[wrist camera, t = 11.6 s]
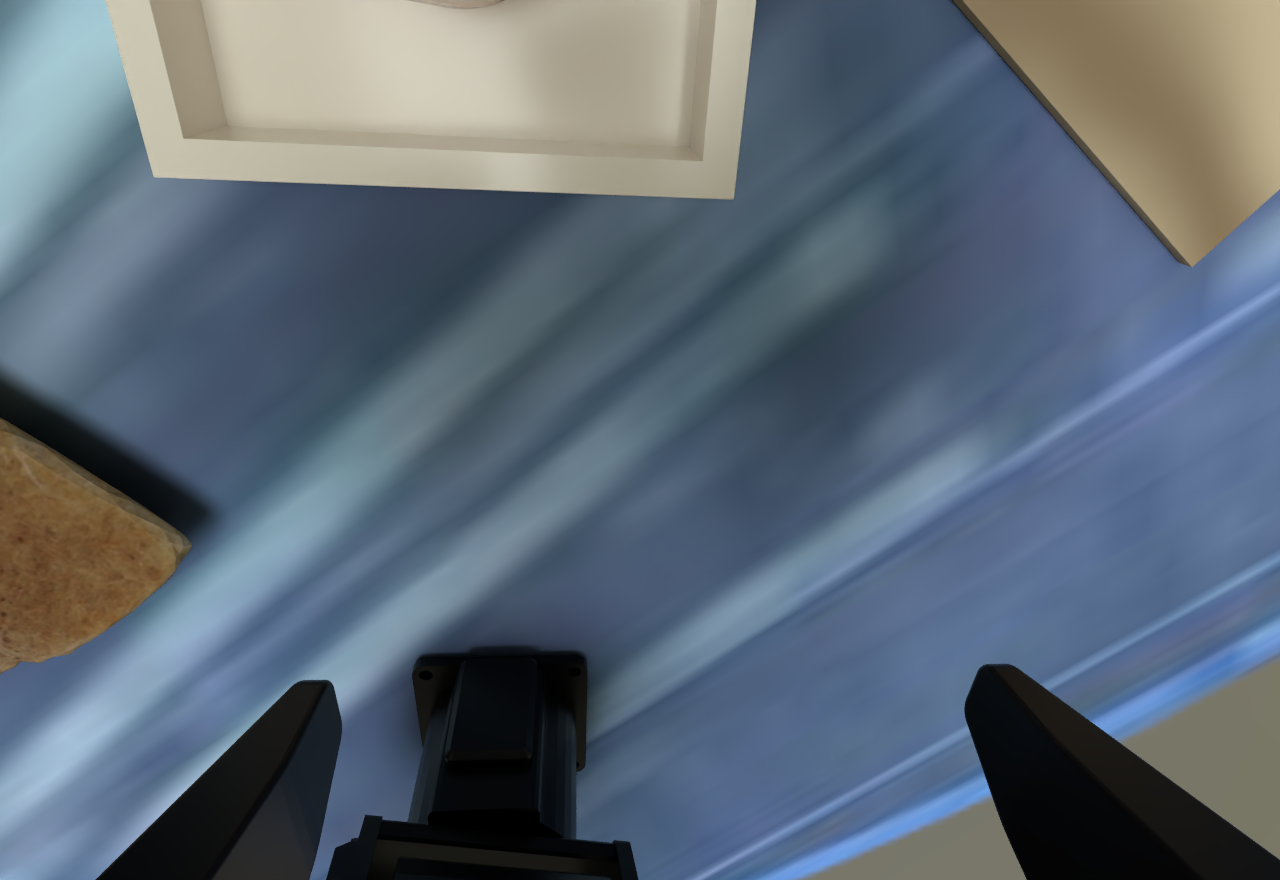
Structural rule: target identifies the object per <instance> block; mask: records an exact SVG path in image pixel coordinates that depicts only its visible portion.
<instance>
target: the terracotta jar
mask: <svg viewBox="0 0 1280 880" xmlns="http://www.w3.org/2000/svg"><path fill="white" fill-rule="evenodd" d="M408 1H413V2H419V3H424V4H429V5H435V6H440V7H446V8H452V9H474V8H481V7H487V6H490V5H493V4H497V3H500V2H502V1H504V0H408Z"/></svg>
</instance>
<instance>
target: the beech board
mask: <svg viewBox="0 0 1280 880" xmlns="http://www.w3.org/2000/svg"><path fill="white" fill-rule="evenodd" d="M953 2H954V3H955V4H956V5H957V6H958V7H959V8H960V10H961V11H962V12H963V13H964V14H965V15H966V17H967V18H968V19H969V20H970V21H971V22H972V23H973V25H974V26H975V27H976V28H977V29H978V30H979V32H980V33H981V34H982V35H983V36H984V37H985V39H986V40H987V41H988V42H989V43H990V44H991V45H992V47H993V48H994V49H995V50H996V51H997V52H998V54H999V55H1000V56H1001V57H1002V58H1003V59H1004V60H1005V62H1006V63H1007V64H1008V65H1009V66H1010V67H1011V69H1012V70H1013V71H1014V72H1015V73H1016V74H1017V75H1018V77H1019V78H1020V79H1021V80H1022V81H1023V82H1024V84H1025V85H1026V86H1027V87H1028V88H1029V89H1030V90H1031V92H1032V93H1033V94H1034V95H1035V96H1036V97H1037V99H1038V100H1039V101H1040V102H1041V103H1042V104H1043V105H1044V107H1045V108H1046V109H1047V110H1048V111H1049V112H1050V114H1051V115H1052V116H1053V117H1054V118H1055V119H1056V120H1057V122H1058V123H1059V124H1060V125H1061V126H1062V127H1063V129H1064V130H1065V131H1066V132H1067V133H1068V134H1069V135H1070V137H1071V138H1072V139H1073V140H1074V141H1075V142H1076V144H1077V145H1078V146H1079V147H1080V148H1081V149H1082V151H1083V152H1084V153H1085V154H1086V155H1087V156H1088V157H1089V159H1090V160H1091V161H1092V162H1093V163H1094V164H1095V166H1096V167H1097V168H1098V169H1099V170H1100V171H1101V172H1102V174H1103V175H1104V176H1105V177H1106V178H1107V179H1108V181H1109V182H1110V183H1111V184H1112V185H1113V186H1114V187H1115V189H1116V190H1117V191H1118V192H1119V193H1120V194H1121V196H1122V197H1123V198H1124V199H1125V200H1126V201H1127V202H1128V204H1129V205H1130V206H1131V207H1132V208H1133V209H1134V211H1135V212H1136V213H1137V214H1138V215H1139V216H1140V217H1141V219H1142V220H1143V221H1144V222H1145V223H1146V224H1147V226H1148V227H1149V228H1150V229H1151V230H1152V231H1153V232H1154V234H1155V235H1156V236H1157V237H1158V238H1159V239H1160V241H1161V242H1162V243H1163V244H1164V245H1165V246H1166V248H1167V249H1168V250H1169V251H1170V252H1171V253H1172V254H1173V256H1174V257H1175V258H1176V259H1177V260H1178V261H1179V263H1182V264H1185V265H1187V266H1190V267H1193V266H1194V265H1195V264H1196V263H1197V262H1199V261H1200V260H1201V259H1202V258H1203V257H1204V256H1205V255H1206V254H1208V253H1209V252H1210V251H1211V250H1212V249H1213V248H1214V247H1215V246H1216V245H1218V244H1219V243H1220V242H1221V241H1222V240H1223V239H1224V238H1225V237H1227V236H1228V235H1229V234H1230V233H1231V232H1232V231H1233V230H1234V229H1236V228H1237V227H1238V226H1239V225H1240V224H1241V223H1242V222H1243V221H1244V220H1246V219H1247V218H1248V217H1249V216H1250V215H1251V214H1252V213H1253V212H1255V211H1256V210H1257V209H1258V208H1259V207H1260V206H1261V205H1262V204H1264V203H1265V202H1266V201H1267V200H1268V199H1269V198H1270V197H1271V196H1273V195H1274V194H1275V193H1276V192H1277V191H1278V190H1279V189H1280V0H953Z"/></svg>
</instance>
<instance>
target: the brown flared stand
mask: <svg viewBox="0 0 1280 880" xmlns="http://www.w3.org/2000/svg"><path fill="white" fill-rule="evenodd" d="M191 547H192V544H191V542H190V540H189V539H188V538H187V537H185V536H184V535H183V534H182V533H181V532H179V531H178V530H177V529H175V528H174V527H173V526H171V525H170V524H168V523H167V522H165V521H164V520H163V519H161V518H160V517H158V516H157V515H155V514H154V513H152V512H151V511H149V510H148V509H147V508H145V507H144V506H142V505H140V504H139V503H137V502H136V501H134V500H133V499H131V498H130V497H128V496H127V495H125V494H124V493H122V492H121V491H119V490H117V489H116V488H114V487H112V486H111V485H109V484H107V483H106V482H104V481H102V480H101V479H99V478H98V477H96V476H95V475H93V474H92V473H90V472H89V471H87V470H86V469H84V468H83V467H81V466H79V465H78V464H76V463H75V462H73V461H72V460H70V459H68V458H67V457H65V456H63V455H62V454H60V453H59V452H57V451H55V450H54V449H52V448H50V447H49V446H47V445H46V444H44V443H42V442H41V441H39V440H37V439H36V438H34V437H32V436H31V435H29V434H27V433H26V432H24V431H23V430H21V429H19V428H18V427H16V426H14V425H13V424H11V423H9V422H7V421H6V420H4V419H2V418H0V674H1V673H2V672H4V671H7V670H9V669H11V668H13V667H15V666H16V665H17V664H19V663H20V662H21V661H24V662H36V663H41V662H43V661H45V660H47V659H49V658H52V657H55V656H61V655H67V654H70V653H72V652H73V651H74V650H76V649H77V648H79V647H80V646H82V645H83V644H85V643H87V642H89V641H91V640H93V639H94V638H95V637H97V636H98V635H100V634H101V633H103V632H104V631H106V630H107V629H109V628H110V627H111V626H113V625H114V624H116V623H117V622H118V621H120V620H121V619H123V618H124V617H125V616H127V615H128V614H130V613H131V612H133V611H134V610H135V609H136V608H137V607H138V606H139V605H141V604H142V603H143V602H144V601H145V600H146V599H147V598H149V597H150V596H151V595H152V594H153V593H154V592H155V591H156V590H158V589H159V588H160V587H161V586H162V585H163V584H165V583H166V582H167V581H168V580H169V579H170V578H171V577H172V576H173V574H174V572H175V571H176V569H177V567H178V566H179V564H180V562H181V561H182V560H183V558H184V557H185V556H186V555H187V553H188V552H189V551H190V549H191Z"/></svg>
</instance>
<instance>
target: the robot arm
mask: <svg viewBox="0 0 1280 880" xmlns="http://www.w3.org/2000/svg"><path fill="white" fill-rule="evenodd" d="M572 667H576V668H575V669H573V668H572ZM425 671H429V672H425ZM412 679H413V685H414V692H415V699H416V705H417V712H418V718H419V725H420V732H421V738H422V745H423V751H422V756H421V761H420V766H419V770H418V775H417V780H416V784H415V789H414V794H413V799H412V803H411V808H410V813H409V817H408V822H400V821H390V820H382V816H372V815H365V818H364V821H363V825H362V828H361V831H360V835H359V838H354V839H351V842H348V843H346V844H344V845H341V846H339V847H337V848H335V851H334V855H333V858H332V861H331V865H330V868H329V872H328V875H327V878H326V880H638V876H637V871H636V867H635V862H634V858H633V853H632V849H631V844H630V842H627V841H617V840H614V841H613V843H607V842H597V841H587V840H577V839H576V772H578V771H581V770H582V769H583V768H584V767H585V758H586V713H587V661H586V659H585V658H584V657H582V656H580V655H529V656H482V657H435V658H421V659H419V660H418V661H417V662H416V663H415V664H414V668H413V672H412ZM964 709H965V718H966V722H967V724H968V727H969V730H970V733H971V736H972V739H973V742H974V745H975V748H976V751H977V754H978V757H979V760H980V762H981V765H982V768H983V771H984V774H985V777H986V780H987V783H988V786H989V789H990V792H991V795H992V798H993V800H994V803H995V806H996V809H997V812H998V814H999V817H1000V820H1001V822H1002V825H1003V827H1004V830H1005V832H1006V834H1007V837H1008V839H1009V841H1010V844H1011V846H1012V848H1013V850H1014V852H1015V855H1016V857H1017V859H1018V861H1019V864H1020V865H1021V868H1022V870H1023V872H1024V875H1025V877H1026V879H1027V880H1280V860H1279V859H1278V858H1277V857H1275V856H1274V855H1272V854H1271V853H1270V852H1268V851H1267V850H1266V849H1264V848H1263V847H1261V846H1260V845H1259V844H1257V843H1256V842H1255V841H1253V840H1252V839H1250V838H1249V837H1248V836H1246V835H1245V834H1243V833H1242V832H1241V831H1240V830H1238V829H1237V828H1235V827H1234V826H1233V825H1231V824H1230V823H1229V822H1227V821H1226V820H1225V819H1223V818H1222V817H1220V816H1219V815H1218V814H1216V813H1215V812H1214V811H1212V810H1211V809H1210V808H1208V807H1207V806H1205V805H1204V804H1203V803H1201V802H1200V801H1198V800H1197V799H1196V798H1194V797H1193V796H1192V795H1190V794H1189V793H1188V792H1186V791H1185V790H1183V789H1182V788H1181V787H1179V786H1178V785H1176V784H1175V783H1174V782H1173V781H1171V780H1170V779H1168V778H1167V777H1166V776H1164V775H1163V774H1161V773H1160V772H1159V771H1157V770H1156V769H1155V768H1153V767H1152V766H1150V765H1149V764H1148V763H1146V762H1145V761H1144V760H1142V759H1141V758H1140V757H1138V756H1137V755H1136V754H1134V753H1133V752H1131V751H1130V750H1129V749H1127V748H1126V747H1125V746H1123V745H1122V744H1121V743H1119V742H1118V741H1116V740H1115V739H1114V738H1112V737H1111V736H1110V735H1108V734H1107V733H1106V732H1104V731H1103V730H1101V729H1100V728H1099V727H1097V726H1096V725H1095V724H1093V723H1092V722H1090V721H1089V720H1088V719H1086V718H1085V717H1084V716H1082V715H1081V714H1080V713H1078V712H1077V711H1075V710H1074V709H1073V708H1071V707H1070V706H1069V705H1067V704H1066V703H1065V702H1063V701H1062V700H1060V699H1059V698H1058V697H1056V696H1055V695H1054V694H1052V693H1051V692H1049V691H1048V690H1047V689H1045V688H1044V687H1043V686H1041V685H1040V684H1039V683H1037V682H1036V681H1034V680H1033V679H1032V678H1030V677H1029V676H1028V675H1026V674H1025V673H1023V672H1022V671H1021V670H1019V669H1018V668H1016V667H1015V666H1013V665H1010V664H986V665H983V666H982V667H980V668H979V670H978V672H977V674H976V677H975V679H974V681H973V684H972V686H971V689H970V691H969V694H968V696H967V699H966V701H965V708H964ZM341 734H342V721H341V716H340V712H339V708H338V703H337V699H336V695H335V690H334V687H333V684H332V683H331V682H330V681H329V680H303V681H299V682H297V683H296V684H294V685H293V686H292V687H291V688H290V689H289V690H288V691H287V692H286V693H285V694H284V695H283V696H282V697H281V698H280V699H279V700H278V701H277V702H276V703H275V704H274V705H272V706H271V707H270V708H269V709H268V710H267V711H266V712H265V713H264V714H263V715H262V716H261V717H260V718H259V719H258V720H257V721H256V722H255V723H254V724H253V725H252V726H251V727H250V728H249V729H248V730H247V731H246V732H245V733H244V734H243V735H242V736H241V737H240V738H239V739H238V740H237V741H236V742H235V743H234V744H233V745H232V746H231V747H230V748H229V749H228V750H227V751H226V752H225V753H224V754H223V755H222V756H221V757H220V758H219V759H218V760H217V761H216V762H215V763H214V764H213V765H212V766H211V767H210V768H209V769H208V770H207V771H205V772H204V773H203V774H202V775H201V776H200V777H199V778H198V779H197V780H196V781H195V782H194V783H193V784H192V785H191V786H190V787H189V788H188V789H187V790H186V791H185V792H184V793H183V794H182V795H181V796H180V797H179V798H178V799H177V800H176V801H175V802H174V803H173V804H172V805H171V806H170V807H169V808H168V809H167V810H166V811H165V812H164V813H163V814H162V815H161V816H160V817H159V818H158V819H157V820H156V821H155V822H154V823H153V824H152V825H151V826H150V827H149V828H148V829H147V830H146V831H145V832H144V833H143V834H142V835H141V836H139V837H138V838H137V839H136V840H135V841H134V842H133V843H132V844H131V845H130V846H129V847H128V848H127V849H126V850H125V851H124V852H123V853H122V854H121V855H120V856H119V857H118V858H117V859H116V860H115V861H114V862H113V863H112V864H111V865H110V866H109V867H108V868H107V869H106V870H105V871H104V872H103V873H102V874H101V875H100V876H99V877H98V878H97V879H96V880H309V878H310V875H311V872H312V868H313V865H314V862H315V858H316V854H317V850H318V845H319V841H320V837H321V832H322V827H323V822H324V818H325V813H326V808H327V803H328V798H329V794H330V789H331V784H332V779H333V774H334V770H335V765H336V760H337V755H338V750H339V746H340V741H341Z"/></svg>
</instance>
